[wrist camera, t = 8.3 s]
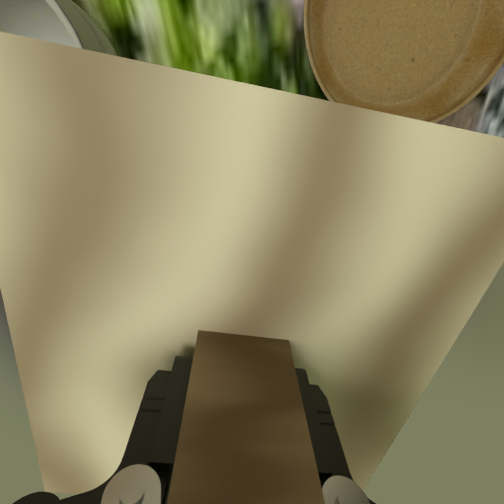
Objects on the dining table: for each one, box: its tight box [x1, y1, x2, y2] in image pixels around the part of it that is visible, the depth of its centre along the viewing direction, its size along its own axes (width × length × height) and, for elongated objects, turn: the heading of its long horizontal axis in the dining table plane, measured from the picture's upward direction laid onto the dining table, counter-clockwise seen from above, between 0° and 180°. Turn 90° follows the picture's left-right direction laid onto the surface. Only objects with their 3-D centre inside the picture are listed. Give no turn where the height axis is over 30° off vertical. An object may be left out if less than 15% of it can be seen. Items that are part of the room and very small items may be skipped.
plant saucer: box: [304, 0, 504, 123], centre depth 20 cm, size 15×15×3 cm
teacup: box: [0, 0, 117, 56], centre depth 18 cm, size 14×11×8 cm
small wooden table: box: [0, 31, 504, 504], centre depth 15 cm, size 16×19×18 cm
